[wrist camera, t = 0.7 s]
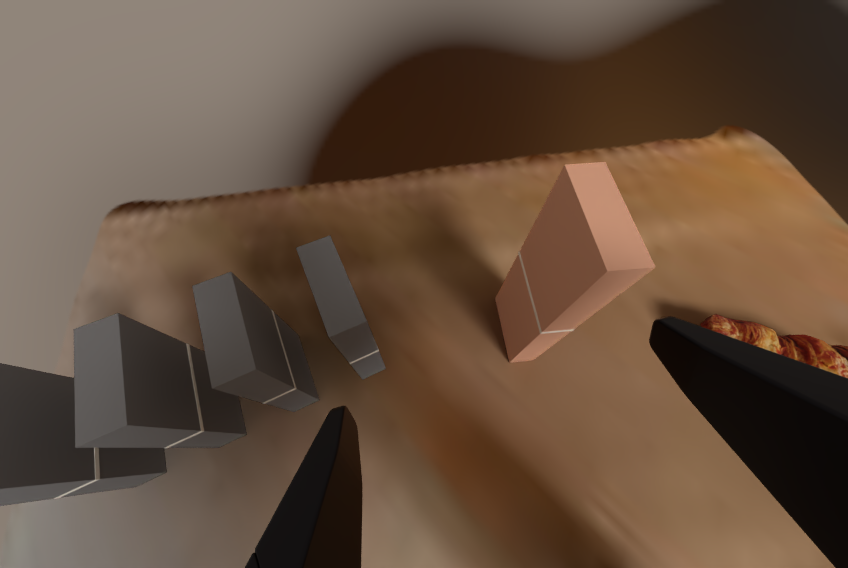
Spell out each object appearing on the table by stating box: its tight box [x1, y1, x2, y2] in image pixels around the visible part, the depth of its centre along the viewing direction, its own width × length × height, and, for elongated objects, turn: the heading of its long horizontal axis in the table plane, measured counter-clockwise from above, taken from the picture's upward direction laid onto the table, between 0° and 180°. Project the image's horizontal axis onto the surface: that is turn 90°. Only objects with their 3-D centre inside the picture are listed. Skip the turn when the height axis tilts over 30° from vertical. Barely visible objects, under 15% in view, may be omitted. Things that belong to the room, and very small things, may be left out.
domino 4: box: [296, 236, 386, 379], centre depth 20 cm, size 5×2×10 cm, turn 26°
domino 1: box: [0, 363, 167, 506], centre depth 17 cm, size 5×2×10 cm, turn 26°
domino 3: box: [192, 272, 319, 412], centre depth 19 cm, size 5×2×10 cm, turn 26°
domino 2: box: [74, 313, 247, 448], centre depth 18 cm, size 5×2×10 cm, turn 26°
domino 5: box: [495, 162, 655, 363], centre depth 19 cm, size 5×2×14 cm, turn 6°
